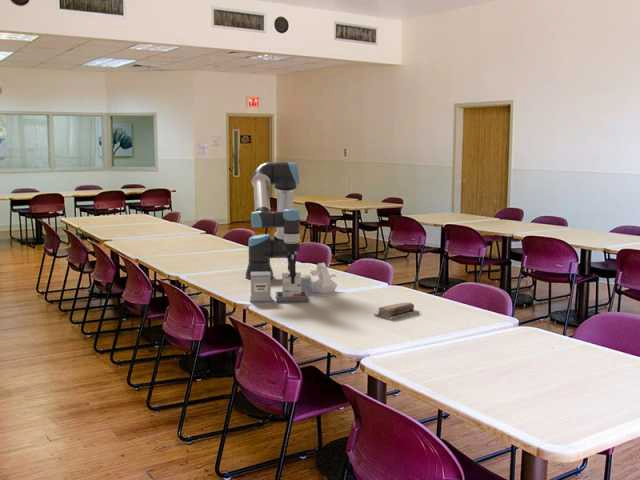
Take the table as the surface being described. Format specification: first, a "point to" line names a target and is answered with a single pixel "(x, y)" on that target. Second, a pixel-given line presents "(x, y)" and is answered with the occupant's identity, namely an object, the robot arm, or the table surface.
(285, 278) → the ink box
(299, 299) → the tray
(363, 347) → the table surface
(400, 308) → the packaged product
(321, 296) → the table surface
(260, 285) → the unit
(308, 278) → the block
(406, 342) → the table surface
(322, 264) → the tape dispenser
